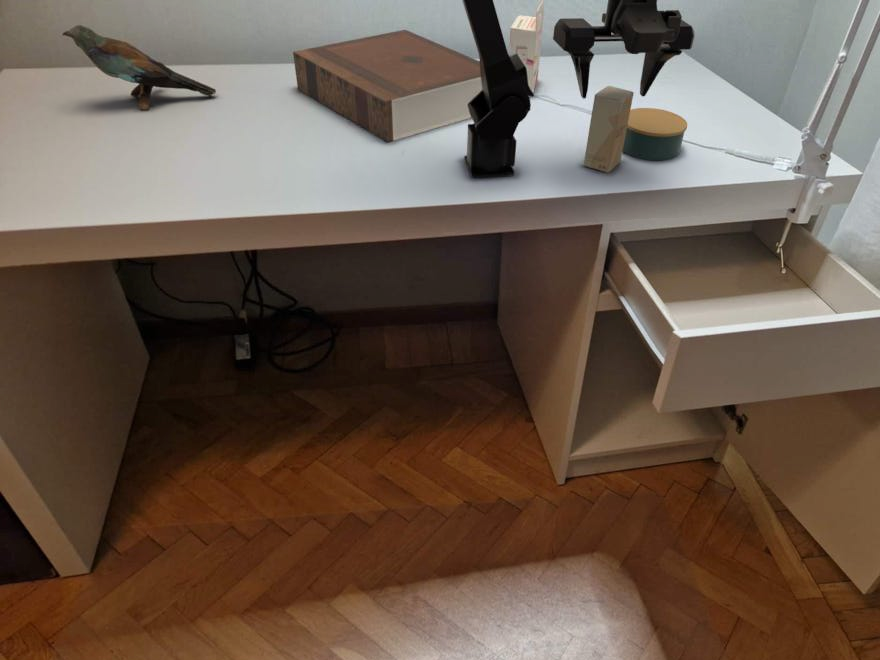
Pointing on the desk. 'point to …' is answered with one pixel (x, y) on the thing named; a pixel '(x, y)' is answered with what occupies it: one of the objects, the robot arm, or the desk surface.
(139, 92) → the bird figurine
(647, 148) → the tin
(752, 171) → the desk surface
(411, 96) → the book
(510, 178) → the desk surface
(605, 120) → the box
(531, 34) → the ink cartridge box
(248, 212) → the desk surface
